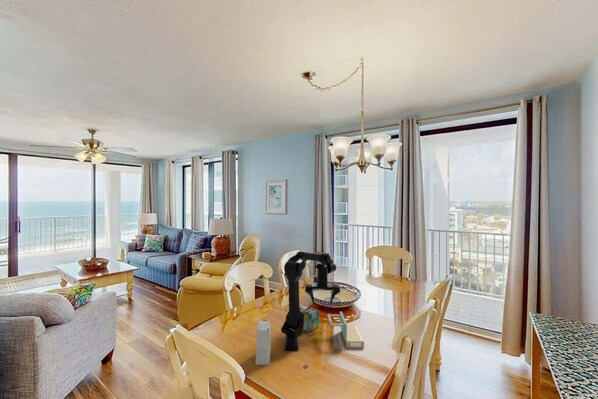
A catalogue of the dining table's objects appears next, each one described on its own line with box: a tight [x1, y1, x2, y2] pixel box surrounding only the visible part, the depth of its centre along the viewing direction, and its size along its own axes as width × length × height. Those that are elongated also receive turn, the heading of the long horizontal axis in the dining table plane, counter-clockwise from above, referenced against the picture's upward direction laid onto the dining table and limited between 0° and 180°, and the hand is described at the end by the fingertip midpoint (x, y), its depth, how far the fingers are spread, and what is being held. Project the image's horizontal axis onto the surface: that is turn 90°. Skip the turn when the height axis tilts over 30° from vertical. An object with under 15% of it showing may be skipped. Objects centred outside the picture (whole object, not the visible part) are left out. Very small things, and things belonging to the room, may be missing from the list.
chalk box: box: [299, 304, 322, 333], centre depth 144 cm, size 9×9×15 cm
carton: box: [340, 325, 365, 349], centre depth 132 cm, size 16×8×3 cm, turn 0°
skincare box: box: [254, 320, 272, 366], centre depth 113 cm, size 8×6×15 cm
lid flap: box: [326, 311, 348, 340], centre depth 132 cm, size 15×7×8 cm
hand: (322, 304), depth 144 cm, fingers open, 9 cm apart
